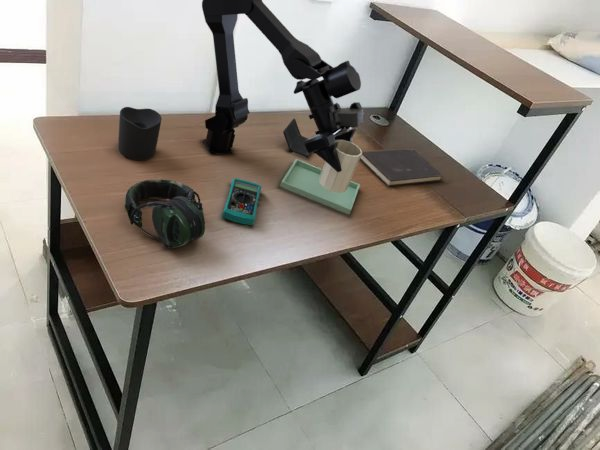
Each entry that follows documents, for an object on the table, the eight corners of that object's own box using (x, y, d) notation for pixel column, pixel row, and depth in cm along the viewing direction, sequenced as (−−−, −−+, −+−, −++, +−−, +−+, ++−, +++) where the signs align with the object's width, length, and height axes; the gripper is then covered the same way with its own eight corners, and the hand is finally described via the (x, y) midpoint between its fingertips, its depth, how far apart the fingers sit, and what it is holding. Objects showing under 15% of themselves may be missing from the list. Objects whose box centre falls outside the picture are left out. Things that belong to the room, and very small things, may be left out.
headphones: (234, 214, 109) (171, 177, 118) (203, 187, 97) (137, 148, 106) (197, 267, 107) (136, 225, 116) (162, 246, 95) (97, 201, 104)
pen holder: (142, 166, 123) (147, 130, 117) (108, 151, 124) (111, 114, 118) (163, 151, 131) (168, 116, 125) (130, 137, 131) (134, 101, 126)
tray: (279, 188, 133) (281, 181, 132) (293, 164, 145) (296, 158, 143) (348, 216, 132) (351, 210, 131) (357, 190, 144) (360, 184, 142)
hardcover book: (440, 181, 163) (443, 175, 162) (387, 187, 150) (390, 180, 149) (408, 153, 173) (411, 147, 171) (356, 156, 160) (359, 150, 158)
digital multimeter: (220, 220, 116) (223, 210, 114) (230, 185, 128) (233, 175, 126) (252, 228, 117) (255, 218, 115) (259, 193, 129) (262, 183, 127)
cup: (329, 193, 124) (344, 157, 118) (313, 176, 128) (327, 139, 122) (352, 191, 128) (367, 155, 122) (336, 174, 132) (350, 139, 126)
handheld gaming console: (316, 156, 148) (304, 124, 144) (292, 164, 150) (280, 132, 146) (318, 143, 159) (307, 113, 155) (296, 151, 160) (284, 121, 156)
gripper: (334, 103, 108) (360, 171, 112) (365, 84, 123) (388, 145, 127) (292, 119, 114) (318, 183, 118) (327, 100, 129) (349, 157, 133)
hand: (345, 166), depth 124 cm, fingers closed on cup, 7 cm apart
